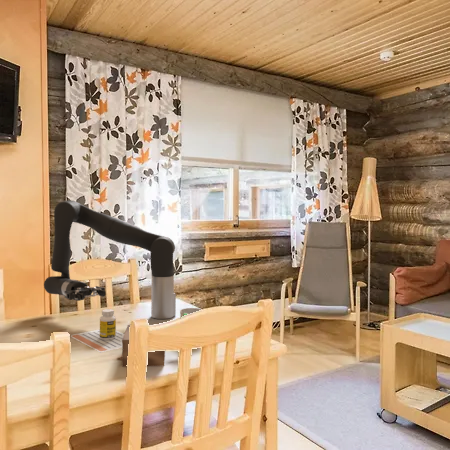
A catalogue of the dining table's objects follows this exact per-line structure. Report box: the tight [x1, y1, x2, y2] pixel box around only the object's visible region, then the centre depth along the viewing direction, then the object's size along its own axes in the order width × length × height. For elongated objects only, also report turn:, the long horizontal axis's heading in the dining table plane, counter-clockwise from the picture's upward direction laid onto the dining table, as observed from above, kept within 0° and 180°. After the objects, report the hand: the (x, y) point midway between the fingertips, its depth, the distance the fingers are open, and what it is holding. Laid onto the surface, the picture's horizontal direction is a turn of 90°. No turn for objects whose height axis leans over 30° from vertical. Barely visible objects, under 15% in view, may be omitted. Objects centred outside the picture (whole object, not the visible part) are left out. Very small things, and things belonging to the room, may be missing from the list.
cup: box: [179, 307, 202, 318], centre depth 156 cm, size 8×8×10 cm
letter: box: [70, 328, 125, 353], centre depth 155 cm, size 16×24×1 cm, turn 43°
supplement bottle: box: [99, 308, 117, 340], centre depth 155 cm, size 5×5×10 cm
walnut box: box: [121, 323, 166, 368], centre depth 138 cm, size 12×16×8 cm
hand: (93, 295), depth 165 cm, fingers open, 8 cm apart
